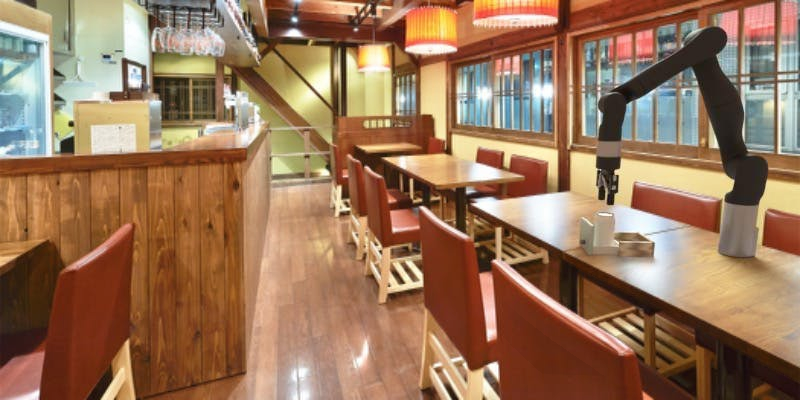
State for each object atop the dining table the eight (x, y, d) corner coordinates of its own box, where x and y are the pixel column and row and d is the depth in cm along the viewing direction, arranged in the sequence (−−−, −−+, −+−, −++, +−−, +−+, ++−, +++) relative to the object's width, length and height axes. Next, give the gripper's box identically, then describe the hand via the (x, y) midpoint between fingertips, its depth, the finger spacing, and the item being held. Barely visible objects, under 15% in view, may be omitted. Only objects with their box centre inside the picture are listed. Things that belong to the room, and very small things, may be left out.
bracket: (610, 244, 162) (613, 217, 160) (623, 255, 151) (626, 226, 149) (575, 244, 164) (577, 217, 162) (585, 255, 152) (587, 226, 150)
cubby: (637, 245, 162) (638, 231, 161) (653, 257, 149) (655, 242, 148) (605, 245, 163) (606, 231, 162) (618, 256, 151) (620, 242, 150)
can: (588, 245, 159) (590, 212, 157) (603, 244, 161) (606, 210, 158) (601, 251, 153) (604, 216, 150) (617, 249, 155) (620, 215, 152)
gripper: (629, 156, 143) (625, 207, 146) (612, 152, 157) (609, 198, 160) (604, 157, 144) (601, 207, 147) (590, 152, 158) (587, 198, 161)
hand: (605, 202), depth 154 cm, fingers open, 8 cm apart
